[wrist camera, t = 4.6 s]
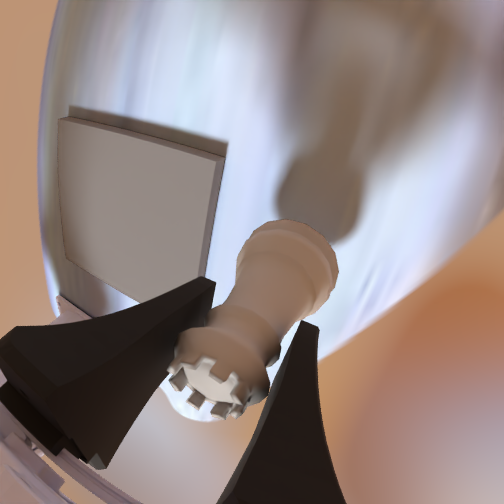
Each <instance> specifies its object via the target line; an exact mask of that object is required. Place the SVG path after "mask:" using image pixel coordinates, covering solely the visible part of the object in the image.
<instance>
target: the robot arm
mask: <svg viewBox="0 0 504 504" xmlns="http://www.w3.org/2000/svg"><path fill="white" fill-rule="evenodd" d="M215 286H216V282H214V281H212V280H210V279H207V278H205V277H203V276H200V277H197V278H195V279H193V280H191V281H189V282H187V283H185V284H183V285H181V286H179V287H177V288H175V289H172V290H170V291H168V292H166V293H164V294H162V295H159V296H157V297H155V298H153V299H150V300H148V301H145V302H143V303H140V304H138V305H135V306H133V307H130V308H127V309H124V310H121V311H118V312H115V313H112V314H108V315H105V316H101V317H97V318H91V317H89V316H88V315H87V314H85V313H84V312H82V311H81V310H79V309H78V308H77V307H75V306H74V305H72V304H71V303H70V302H68V301H67V300H66V299H64V298H63V297H61V296H60V295H58V296H56V301H57V305H58V309H59V313H60V316H59V317H58V318H56V319H55V320H54V321H53V322H52V323H50V324H49V325H45V326H16V327H14V328H13V329H12V330H11V331H9V332H8V333H7V334H6V335H5V336H4V337H2V338H1V339H0V504H76V503H75V502H73V501H72V500H71V499H69V498H68V497H67V496H66V495H64V494H63V493H62V492H61V491H60V490H59V489H60V487H61V486H62V485H63V483H64V482H65V481H64V479H63V478H62V477H60V476H59V475H58V474H57V473H56V472H55V471H54V470H53V469H51V467H49V465H48V464H46V462H45V461H43V460H42V459H41V458H40V457H42V456H43V455H46V456H47V457H49V458H50V459H51V460H52V461H53V462H54V463H55V464H56V465H58V466H59V467H60V468H61V469H62V470H64V471H65V472H66V473H67V474H68V475H70V476H71V477H72V478H73V479H75V480H76V481H77V482H78V483H80V484H81V485H82V486H84V487H85V488H86V489H88V490H89V491H90V492H92V493H93V494H95V495H96V496H97V497H99V498H100V499H101V500H103V501H104V502H106V503H107V504H142V503H141V502H139V501H137V500H135V499H134V498H132V497H131V496H129V495H128V494H126V493H125V492H123V491H122V490H120V489H118V488H117V487H115V486H114V485H112V484H111V483H109V482H108V481H107V480H105V479H104V478H102V477H101V476H100V475H98V474H97V473H95V472H94V471H92V470H91V469H90V468H89V467H87V466H86V465H85V464H83V463H82V462H81V461H80V460H79V458H80V459H81V460H82V461H84V462H85V463H86V464H87V463H88V464H90V465H91V466H92V467H94V468H95V469H98V470H101V469H106V468H107V467H108V465H109V463H110V461H111V459H112V458H113V456H114V454H115V452H116V451H117V449H118V447H119V445H120V444H121V442H122V440H123V439H124V437H125V435H126V434H127V432H128V431H129V429H130V428H131V426H132V424H133V423H134V421H135V420H136V418H137V417H138V415H139V414H140V412H141V411H142V409H143V407H144V406H145V405H146V403H147V402H148V400H149V399H150V397H151V396H152V394H153V393H154V392H155V390H156V389H157V388H158V386H159V385H160V384H161V383H162V381H163V380H164V379H165V378H166V377H167V376H168V375H169V373H170V372H168V371H167V369H168V367H169V365H170V363H171V362H172V361H173V359H174V358H175V354H174V342H175V340H176V338H177V336H178V334H179V333H181V332H183V331H185V330H188V329H190V328H199V327H204V319H205V317H206V315H207V313H208V312H209V310H210V309H211V308H212V302H213V297H214V292H215ZM319 331H320V330H319V328H318V327H317V326H315V325H312V324H310V323H308V322H305V321H303V320H301V322H300V324H299V326H298V329H297V331H296V333H295V335H294V337H293V340H292V342H291V344H290V346H289V348H288V350H287V353H286V355H285V357H284V359H283V361H282V363H281V366H280V368H279V370H278V372H277V374H276V376H275V378H274V381H273V383H272V386H271V389H270V392H269V394H268V397H267V400H266V403H265V405H264V408H263V411H262V413H261V416H260V419H259V421H258V424H257V427H256V430H255V432H254V434H253V437H252V439H251V441H250V443H249V445H248V447H247V448H246V451H245V453H244V454H243V456H242V458H241V460H240V462H239V464H238V466H237V467H236V469H235V471H234V473H233V475H232V477H231V479H230V480H229V482H228V484H227V486H226V487H225V489H224V491H223V493H222V495H221V496H220V498H219V500H218V502H217V503H216V504H346V502H345V499H344V496H343V494H342V491H341V489H340V486H339V483H338V480H337V477H336V474H335V471H334V467H333V464H332V461H331V457H330V453H329V449H328V445H327V442H326V436H325V432H324V427H323V421H322V415H321V408H320V399H319V389H318V372H317V371H318V369H317V351H318V337H319Z"/></svg>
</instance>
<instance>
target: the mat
mask: <svg viewBox="0 0 504 504" xmlns="http://www.w3.org/2000/svg"><path fill="white" fill-rule="evenodd" d="M224 162H225V157H222V156H219V155H215V154H212V153H209V152H205V151H202V150H199V149H195V148H192V147H189V146H185V145H182V144H178V143H175V142H171V141H167V140H164V139H160V138H157V137H153V136H149V135H145V134H141V133H137V132H134V131H130V130H126V129H122V128H117V127H113V126H109V125H105V124H100V123H96V122H92V121H87V120H83V119H78V118H73V117H65V118H61V119H58V179H59V197H60V210H61V221H62V231H63V240H64V247H65V255H66V259H68V260H69V261H71V262H72V263H74V264H76V265H77V266H79V267H80V268H82V269H83V270H85V271H87V272H88V273H90V274H91V275H93V276H95V277H96V278H98V279H100V280H101V281H103V282H105V283H106V284H108V285H110V286H111V287H113V288H115V289H116V290H118V291H120V292H121V293H123V294H125V295H127V296H128V297H130V298H132V299H134V300H135V301H137V302H139V303H143V302H145V301H148V300H150V299H153V298H155V297H157V296H159V295H162V294H164V293H166V292H168V291H170V290H172V289H175V288H177V287H179V286H181V285H183V284H185V283H187V282H189V281H191V280H193V279H195V278H197V277H200V276H203V277H204V276H205V269H206V263H207V257H208V251H209V245H210V239H211V233H212V227H213V222H214V216H215V210H216V205H217V199H218V194H219V188H220V183H221V178H222V172H223V167H224Z"/></svg>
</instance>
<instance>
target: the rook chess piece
mask: <svg viewBox="0 0 504 504" xmlns="http://www.w3.org/2000/svg"><path fill="white" fill-rule="evenodd" d="M338 273H339V270H338V264H337V259H336V255H335V252H334V251H333V249H332V248H331V246H330V245H329V243H328V242H327V240H326V239H325V237H324V236H323V235H321V234H320V233H318V232H317V231H316V230H314V229H313V228H311V227H310V226H308V225H307V224H304V223H300V222H296V221H292V220H288V219H283V220H276V221H269V222H266V223H265V224H263V225H262V226H260V227H259V228H257V229H256V230H254V231H253V233H252V234H251V236H250V238H249V239H248V240H246V242H245V244H244V245H243V247H242V249H241V251H240V252H239V254H238V257H237V265H236V280H235V286H234V287H233V289H232V291H231V293H230V295H229V296H228V298H227V299H226V301H225V302H224V303H223V304H222V305H219V306H217V307H215V308H212V309H210V310H209V312H208V313H207V315H206V317H205V319H204V327H199V328H190V329H188V330H185V331H183V332H181V333H179V334H178V336H177V338H176V340H175V342H174V354H175V358H174V359H173V361H172V362H171V363H170V365H169V367H168V369H167V371H168V372H170V373H171V374H173V375H172V377H171V378H170V379H169V382H170V384H171V385H172V387H173V388H174V390H175V391H182V390H183V389H184V387H185V386H186V385H187V386H188V387H189V388H190V389H191V390H192V391H193V392H192V394H191V395H190V396H189V398H188V399H187V400H186V402H187V403H188V404H190V405H191V406H193V407H194V408H195V409H197V410H198V411H199V409H200V408H201V406H202V405H203V403H204V402H205V401H208V402H210V403H212V404H214V405H215V406H214V407H213V409H212V410H211V415H212V417H214V418H219V419H223V420H226V418H227V417H228V415H229V414H230V415H232V416H233V417H234V418H235V419H237V418H238V417H239V416H241V415H242V414H243V413H244V411H245V409H246V408H247V406H251V405H254V404H257V403H259V402H261V401H262V400H263V399H264V398H266V397H267V396H268V393H269V388H270V381H269V377H268V374H267V371H266V368H267V367H270V366H272V365H273V364H274V363H275V362H276V361H277V360H278V359H279V357H280V352H281V345H280V343H281V341H282V339H283V337H284V336H285V335H286V333H287V332H288V331H289V329H290V328H291V327H292V326H293V324H294V323H295V322H297V321H299V320H302V319H304V318H305V317H307V316H309V315H312V314H314V313H315V312H316V311H317V310H318V309H319V308H320V307H321V306H322V305H323V304H324V303H325V302H326V301H327V300H328V298H329V296H330V292H331V291H332V290H333V289H334V288H335V284H336V280H337V277H338Z"/></svg>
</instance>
